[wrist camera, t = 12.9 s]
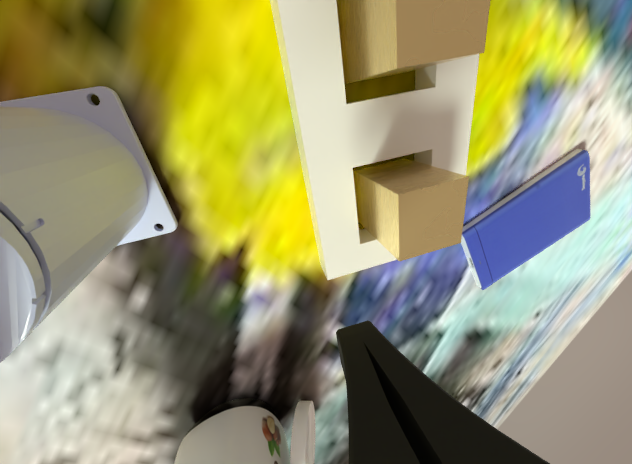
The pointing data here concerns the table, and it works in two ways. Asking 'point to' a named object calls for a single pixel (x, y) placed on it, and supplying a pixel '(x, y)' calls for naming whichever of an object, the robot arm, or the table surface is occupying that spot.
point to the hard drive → (529, 219)
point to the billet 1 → (407, 34)
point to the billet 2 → (411, 206)
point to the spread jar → (249, 436)
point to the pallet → (362, 127)
